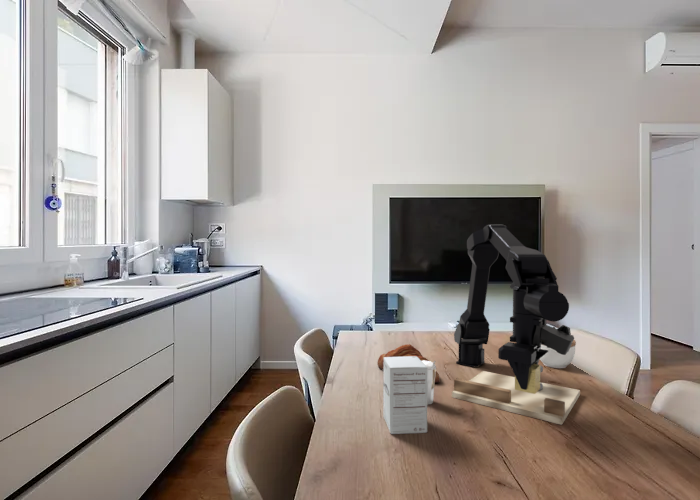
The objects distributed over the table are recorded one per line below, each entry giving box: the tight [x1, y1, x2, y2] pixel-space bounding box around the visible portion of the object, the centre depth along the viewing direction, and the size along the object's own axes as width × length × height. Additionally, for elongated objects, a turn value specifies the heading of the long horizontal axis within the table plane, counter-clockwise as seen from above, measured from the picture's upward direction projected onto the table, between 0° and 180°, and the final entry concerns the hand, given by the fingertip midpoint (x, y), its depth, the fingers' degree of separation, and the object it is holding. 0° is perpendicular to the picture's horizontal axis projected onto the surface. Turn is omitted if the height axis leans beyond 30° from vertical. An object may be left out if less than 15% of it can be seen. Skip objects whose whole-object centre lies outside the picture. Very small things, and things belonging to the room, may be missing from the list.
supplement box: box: [382, 356, 428, 435], centre depth 78 cm, size 7×7×13 cm
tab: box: [514, 364, 541, 394], centre depth 84 cm, size 4×4×5 cm
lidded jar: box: [539, 339, 577, 369], centre depth 118 cm, size 11×11×9 cm
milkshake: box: [422, 360, 437, 405], centre depth 90 cm, size 4×5×10 cm
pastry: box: [376, 343, 440, 384], centre depth 110 cm, size 17×15×8 cm
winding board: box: [451, 370, 581, 426], centre depth 93 cm, size 23×20×4 cm
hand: (526, 386), depth 84 cm, fingers closed on tab, 4 cm apart
